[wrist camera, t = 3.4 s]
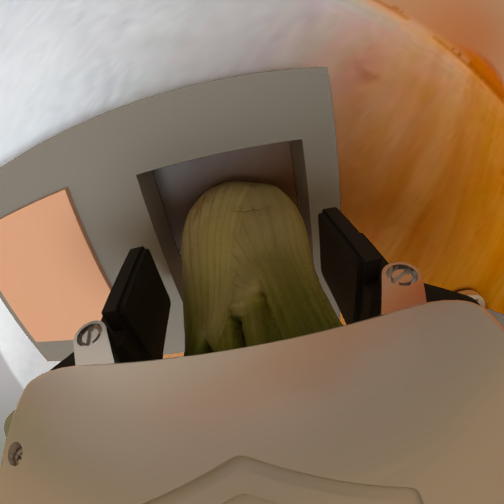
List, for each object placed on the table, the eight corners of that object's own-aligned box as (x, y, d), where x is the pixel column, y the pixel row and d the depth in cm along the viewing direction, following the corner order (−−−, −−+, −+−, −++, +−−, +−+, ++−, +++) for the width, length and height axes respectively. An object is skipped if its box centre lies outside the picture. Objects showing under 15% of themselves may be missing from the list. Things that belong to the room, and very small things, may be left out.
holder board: (309, 71, 11) (329, 66, 9) (327, 296, 19) (340, 325, 16) (-24, 188, 11) (-49, 205, 9) (57, 339, 19) (46, 363, 16)
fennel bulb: (199, 268, 16) (191, 483, 6) (166, 192, 14) (78, 422, 4) (294, 239, 16) (382, 444, 6) (274, 157, 14) (416, 355, 3)
